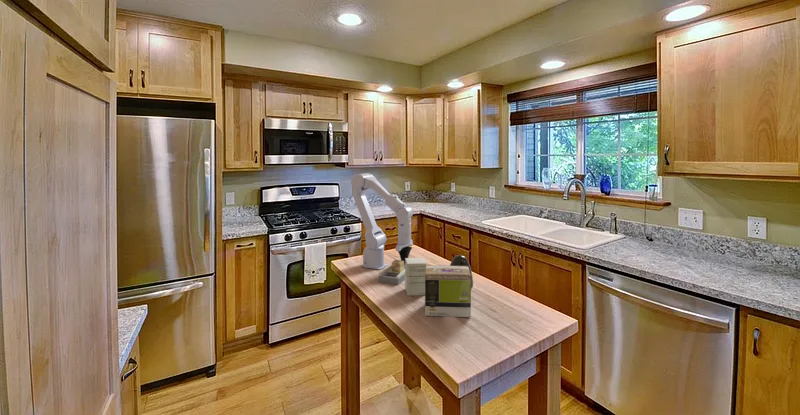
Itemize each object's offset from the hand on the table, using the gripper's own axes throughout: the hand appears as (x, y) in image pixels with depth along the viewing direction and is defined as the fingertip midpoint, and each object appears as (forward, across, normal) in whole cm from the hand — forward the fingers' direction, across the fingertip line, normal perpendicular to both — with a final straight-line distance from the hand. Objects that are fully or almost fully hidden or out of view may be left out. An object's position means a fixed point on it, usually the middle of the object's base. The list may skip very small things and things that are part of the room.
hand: (404, 262), depth 163 cm
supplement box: (+4, -20, -14) cm, 25 cm away
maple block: (+1, -7, 0) cm, 8 cm away
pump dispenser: (+4, -16, -30) cm, 34 cm away
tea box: (+4, -32, -30) cm, 43 cm away
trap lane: (+4, -4, 0) cm, 6 cm away
